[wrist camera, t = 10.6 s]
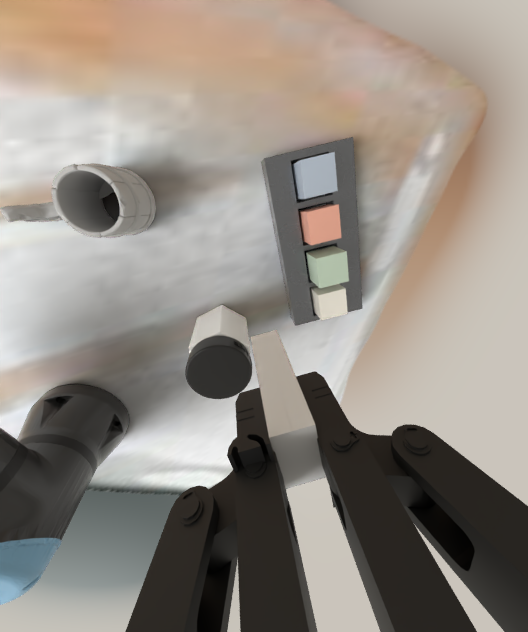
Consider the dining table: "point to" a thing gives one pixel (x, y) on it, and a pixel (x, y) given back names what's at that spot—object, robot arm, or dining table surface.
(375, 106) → the dining table surface
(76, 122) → the dining table surface
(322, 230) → the key coral
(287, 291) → the key panel
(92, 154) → the dining table surface
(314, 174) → the key slate
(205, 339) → the jar
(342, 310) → the key ivory
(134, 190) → the mug
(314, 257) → the key sage
